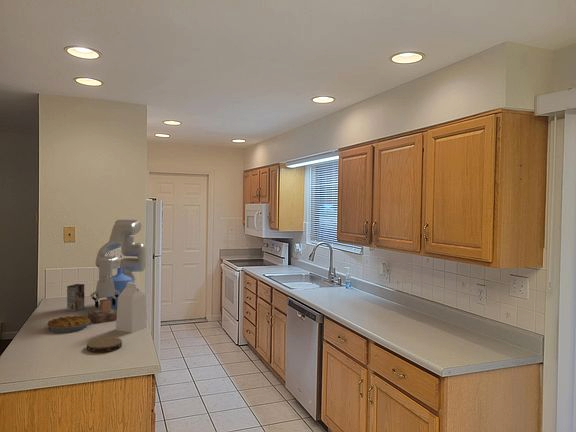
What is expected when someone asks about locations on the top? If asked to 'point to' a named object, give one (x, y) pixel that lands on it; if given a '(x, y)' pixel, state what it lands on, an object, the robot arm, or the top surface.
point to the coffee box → (75, 297)
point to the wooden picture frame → (102, 316)
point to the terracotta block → (105, 305)
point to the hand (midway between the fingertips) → (105, 306)
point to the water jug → (119, 284)
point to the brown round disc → (104, 345)
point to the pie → (68, 323)
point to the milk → (131, 309)
